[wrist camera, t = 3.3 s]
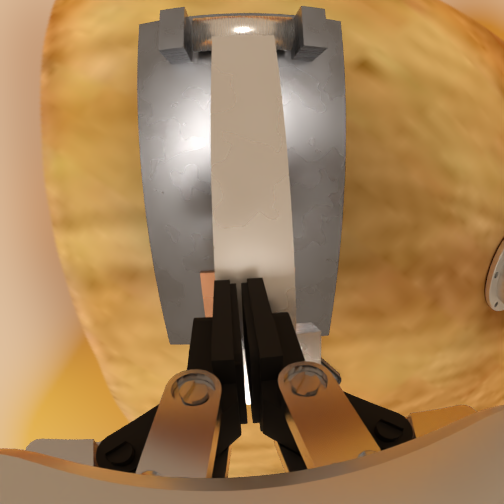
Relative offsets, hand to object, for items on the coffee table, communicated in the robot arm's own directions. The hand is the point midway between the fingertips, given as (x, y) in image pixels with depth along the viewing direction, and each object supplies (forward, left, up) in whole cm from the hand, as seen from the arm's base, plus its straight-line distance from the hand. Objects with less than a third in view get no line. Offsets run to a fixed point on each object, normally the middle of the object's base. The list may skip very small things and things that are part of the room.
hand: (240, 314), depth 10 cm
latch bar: (-1, -4, -4) cm, 6 cm away
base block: (-1, -3, -13) cm, 13 cm away
